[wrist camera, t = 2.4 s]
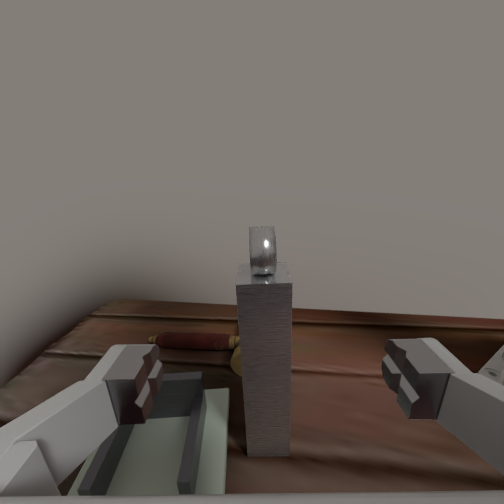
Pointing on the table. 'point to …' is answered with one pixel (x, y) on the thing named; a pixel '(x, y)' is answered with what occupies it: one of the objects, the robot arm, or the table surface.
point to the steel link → (265, 345)
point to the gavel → (202, 344)
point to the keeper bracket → (165, 446)
